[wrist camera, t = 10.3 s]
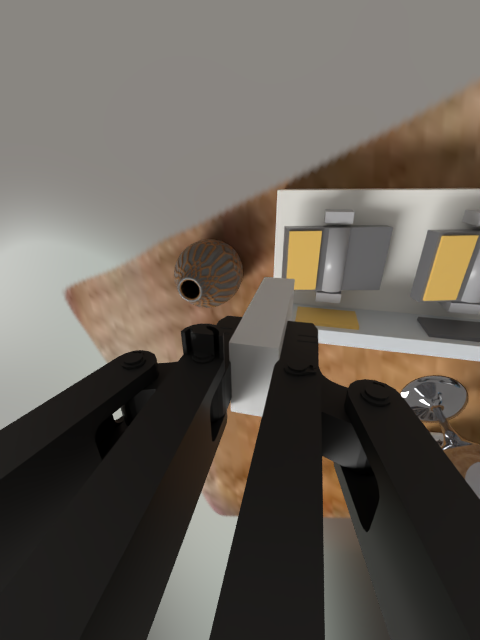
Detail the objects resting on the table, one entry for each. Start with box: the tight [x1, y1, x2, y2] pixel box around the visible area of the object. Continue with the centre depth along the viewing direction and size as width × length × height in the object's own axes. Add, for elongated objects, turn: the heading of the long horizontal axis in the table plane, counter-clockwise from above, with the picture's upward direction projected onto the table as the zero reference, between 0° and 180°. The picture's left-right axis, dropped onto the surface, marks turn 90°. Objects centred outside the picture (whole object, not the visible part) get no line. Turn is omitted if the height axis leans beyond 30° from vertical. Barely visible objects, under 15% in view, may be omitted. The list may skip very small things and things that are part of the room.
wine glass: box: [400, 376, 480, 499], centre depth 27 cm, size 8×8×15 cm
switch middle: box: [410, 228, 480, 303], centre depth 20 cm, size 8×5×2 cm, turn 91°
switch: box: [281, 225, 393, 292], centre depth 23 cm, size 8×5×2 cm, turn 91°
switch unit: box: [274, 188, 480, 361], centre depth 22 cm, size 30×11×10 cm, turn 91°
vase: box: [174, 239, 243, 308], centre depth 29 cm, size 7×7×9 cm
